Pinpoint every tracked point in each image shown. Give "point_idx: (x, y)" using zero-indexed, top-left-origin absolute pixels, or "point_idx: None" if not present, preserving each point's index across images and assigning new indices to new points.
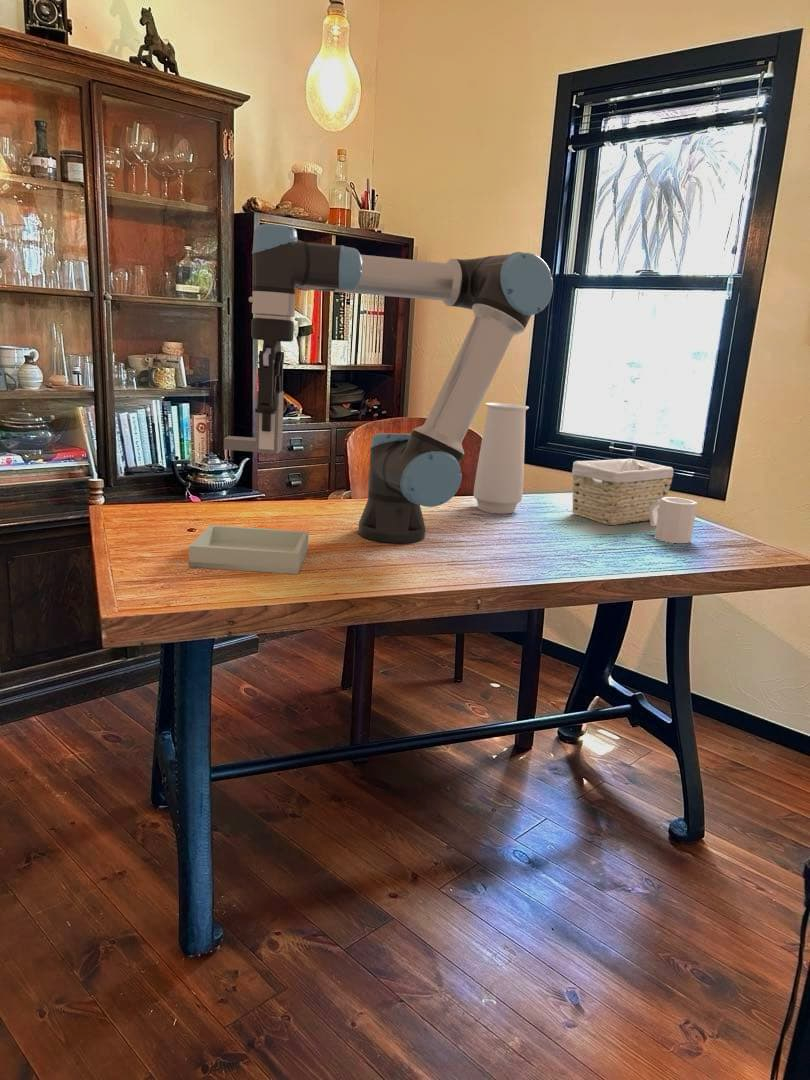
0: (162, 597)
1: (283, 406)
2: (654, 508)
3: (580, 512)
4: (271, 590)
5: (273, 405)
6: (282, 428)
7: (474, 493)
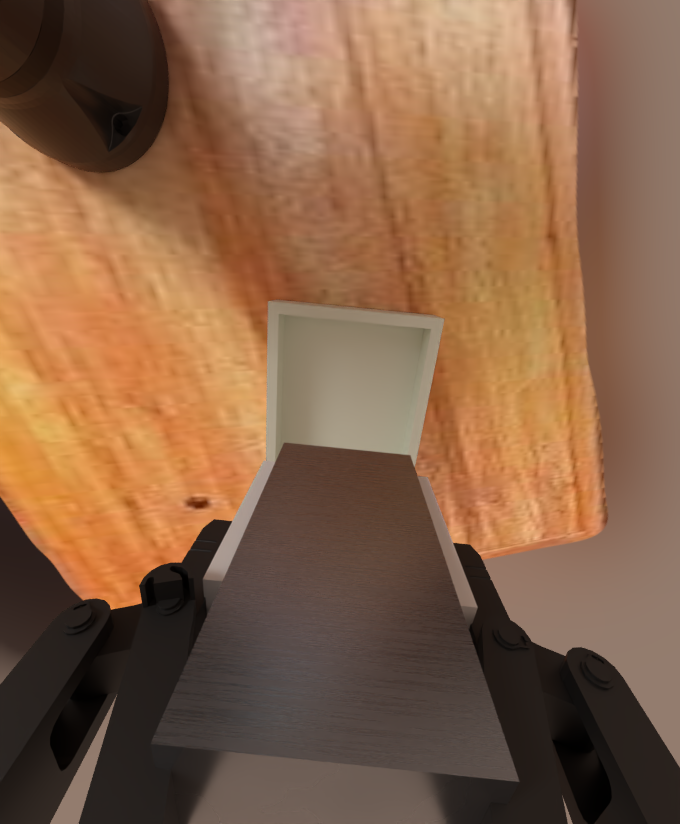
0: (537, 495)
1: (174, 585)
2: None
3: None
4: (521, 356)
5: (524, 676)
6: (268, 492)
7: None
